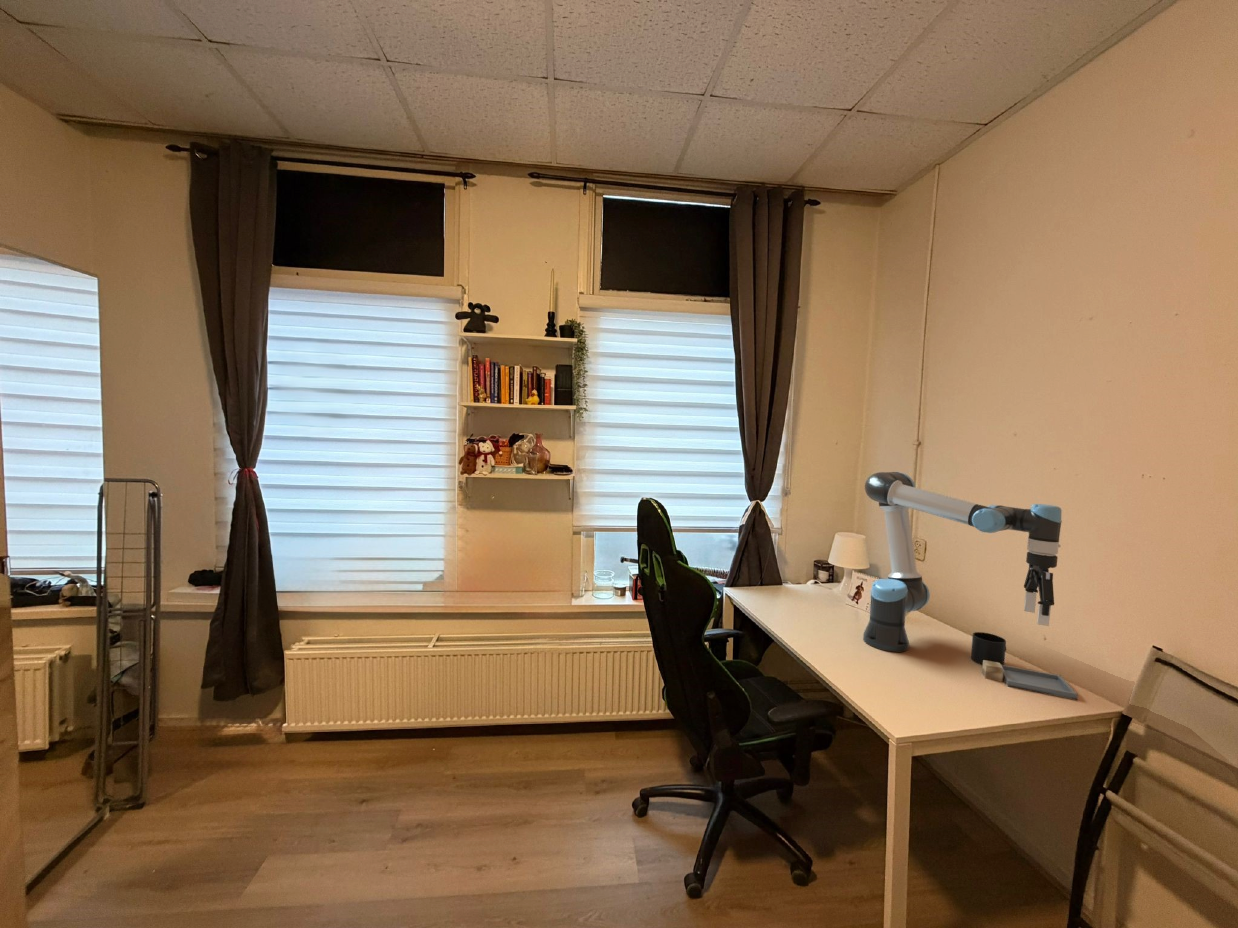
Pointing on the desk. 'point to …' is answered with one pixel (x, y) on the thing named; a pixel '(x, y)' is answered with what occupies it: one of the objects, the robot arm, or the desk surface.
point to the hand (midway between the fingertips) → (1035, 618)
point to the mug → (988, 648)
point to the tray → (1037, 682)
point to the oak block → (992, 670)
